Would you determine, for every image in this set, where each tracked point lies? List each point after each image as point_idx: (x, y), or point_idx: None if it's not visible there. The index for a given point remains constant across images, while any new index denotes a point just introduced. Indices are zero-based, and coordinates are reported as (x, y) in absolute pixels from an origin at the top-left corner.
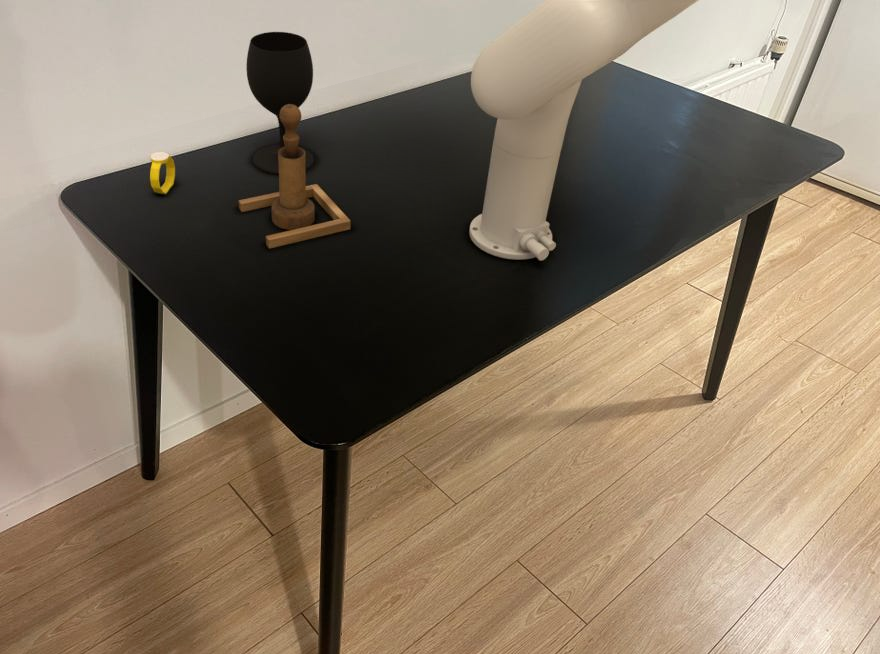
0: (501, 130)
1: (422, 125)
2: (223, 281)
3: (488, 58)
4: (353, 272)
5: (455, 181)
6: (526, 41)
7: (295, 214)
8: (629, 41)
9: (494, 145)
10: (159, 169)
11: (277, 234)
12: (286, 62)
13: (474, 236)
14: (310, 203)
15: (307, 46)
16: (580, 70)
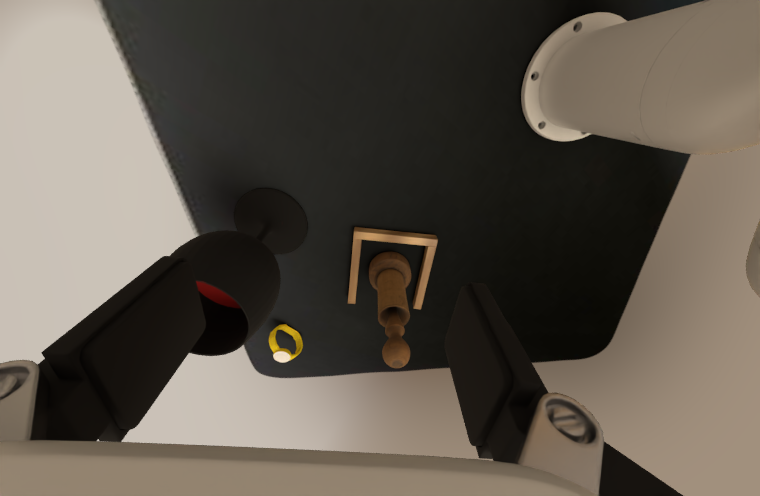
0: (697, 153)
1: None
2: (436, 341)
3: None
4: (492, 267)
5: (423, 41)
6: None
7: (407, 284)
8: None
9: (649, 142)
10: (295, 355)
11: (417, 300)
12: (260, 319)
13: (551, 138)
14: (399, 266)
15: (221, 284)
16: None
